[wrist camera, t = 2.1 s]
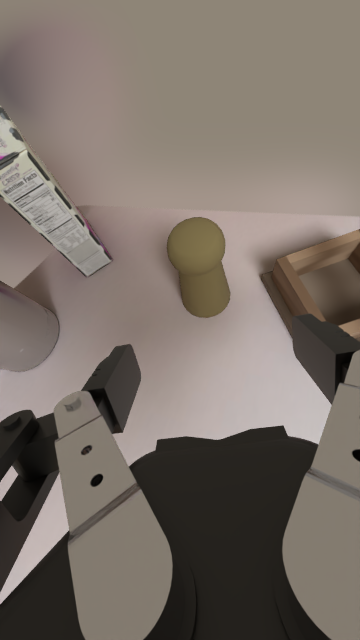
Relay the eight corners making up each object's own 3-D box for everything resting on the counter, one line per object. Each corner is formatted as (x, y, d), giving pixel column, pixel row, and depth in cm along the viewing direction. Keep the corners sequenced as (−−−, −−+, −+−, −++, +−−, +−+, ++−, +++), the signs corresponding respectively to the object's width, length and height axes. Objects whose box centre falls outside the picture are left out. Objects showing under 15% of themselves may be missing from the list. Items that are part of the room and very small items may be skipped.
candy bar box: (60, 235, 39) (-45, 123, 24) (86, 219, 39) (-2, 98, 24) (86, 280, 34) (-26, 175, 19) (114, 261, 34) (26, 143, 20)
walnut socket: (306, 364, 24) (321, 353, 20) (261, 279, 29) (266, 256, 25) (413, 328, 23) (452, 309, 19) (349, 247, 28) (370, 218, 24)
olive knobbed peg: (202, 327, 28) (186, 277, 18) (172, 294, 30) (144, 234, 20) (240, 296, 28) (246, 231, 18) (209, 266, 31) (198, 195, 21)
